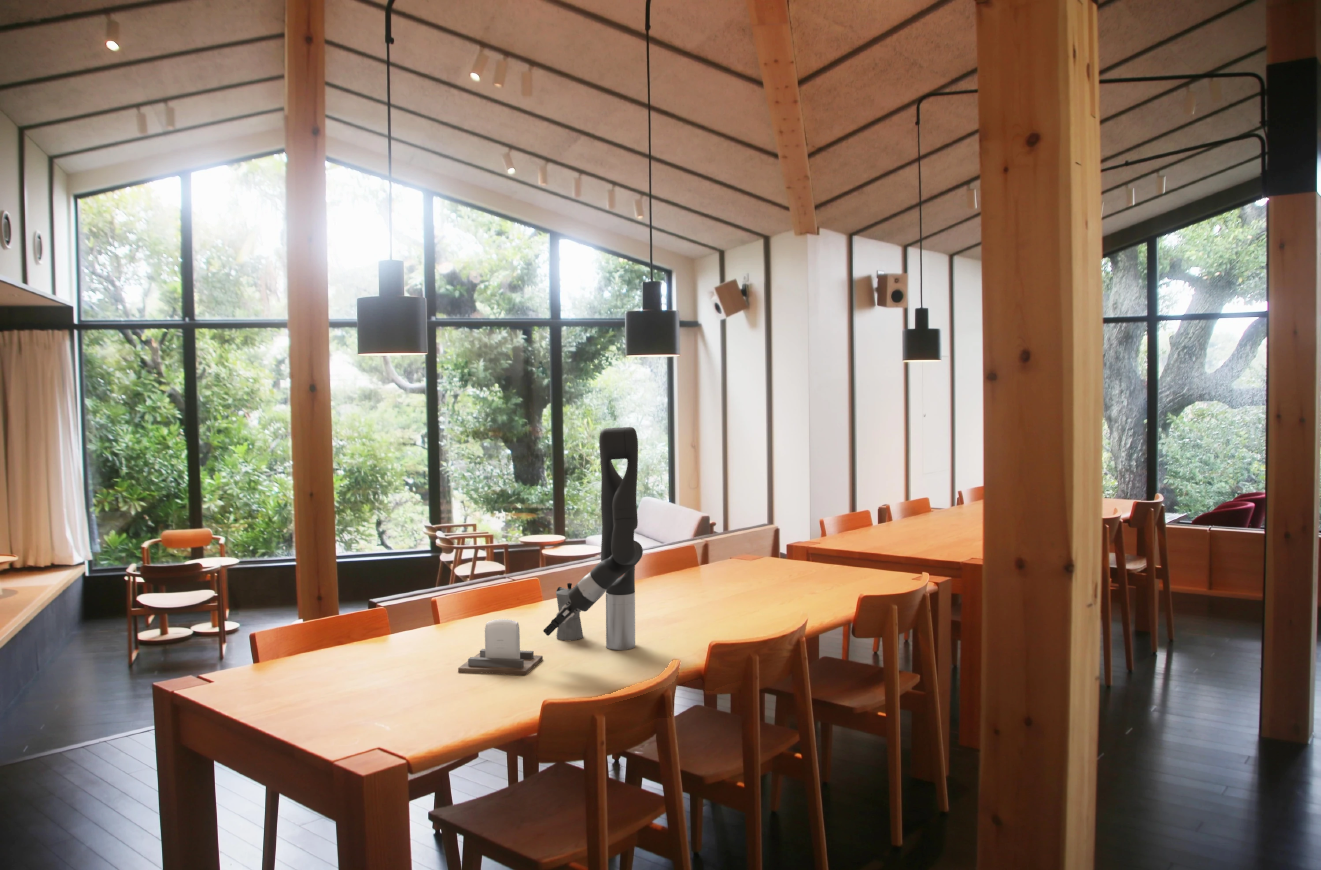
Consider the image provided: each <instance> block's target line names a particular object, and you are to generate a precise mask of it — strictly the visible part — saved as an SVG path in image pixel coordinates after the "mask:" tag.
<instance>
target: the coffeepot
mask: <svg viewBox="0 0 1321 870" xmlns="http://www.w3.org/2000/svg"><path fill="white" fill-rule="evenodd" d="M566 585H567V588H565V587H561V586H559V587H557V589H556V591H555V595H556V600H557V601H556V602H557V608H558V612H559V611H560V610H561V609H562V607H563V606H564V605H565V604H566V603H567V602H568V601H569V602H570V603H571V601H570V599H569V597H568V593H569V591H570V590H571V589H572V588H573V587H572V583H571V582H569V583H567V584H566ZM577 610H578V611H577V612H576V613H575V614H574V615H573V616H572V617H570V618H569V619H568V620H567V621H566V622H565V623H561V624H560V625H559V627H557V628H556V635H555V636H556V639H557V640H559V639H561V640H560V641H565V640H571V641H577V639H578V640H582V639H583V638H584V632H583V628H582V621H581V617H580V616H581V615H580V614H581V612H582V611H581V610H580V609H578V608H577Z"/></svg>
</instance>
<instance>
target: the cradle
mask: <svg viewBox="0 0 1321 870" xmlns="http://www.w3.org/2000/svg"><path fill="white" fill-rule="evenodd" d="M543 660H544V659H543V655H535V654H534V650H521V649H520V659H506V658H485V648H482V649H480V650H479V652H478V653H477V654H476V655H474V656H470V657H469V658H468V659H467V661H466V662H464V663H463V664H462V665H460V666H459V667H458V668H457V672H458V673H468V674H469V673H470V674H488V675H489V674H491V675H493V674H494V675H512V676H513V675H515V676H527V675H528V674H529V673H530V672H531V671H532V670H533V669H534V668H535V667H536V666H537V665H539V664H540V663H539V662H540V661H541V662H542V661H543Z"/></svg>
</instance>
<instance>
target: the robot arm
mask: <svg viewBox="0 0 1321 870" xmlns="http://www.w3.org/2000/svg"><path fill="white" fill-rule="evenodd" d="M598 441H599V442H598V443H599V445H598V446H599V447H598V448H599V458H600V459H599V460H600V470H601V471H600V473H601V484H600V485H601V487H600V488H601V490H600V491H601V492H600V507H601V508H600V512H601V544H600V546H601V547H600V562H599V563H598V564H596V566H595V567H593V568H592V569H591V570H590V572H588V573H586V574H585V575H584V577H582V578H581V580H580V581H578V582H577V583H576V584H575V585H574V586H573V587H571V588H572V589H571V590H570V591H569V593H568V597H569V599H570V601H571V603H570V602H569V601H568V602H567V603H566V604H565V605H564V606H563V607H562V609H561V610H560V611H559V610H558V612H557V613H556V615H555V617H554V618H553V619H552V620H551V621H550V623H548V625H547V626H546V627H545V628H543V630H542V631H543V633H544V634H545V635H546V636H547V637H549V636H550V635H551V634H552V633H553V632H554V631H555V630H557V628H558V627H559V625H560V624H561V623H565V622H566V621H567V620H568V619H569V618H570V617H572V616H573V615H574V614H575V613H576V612H577V611H578V610H577V608H578V609H580V610H581V612H587V611H588V610H590V609H591V607H593V605H594V604H596V602H597V601H598V600H600V598H601V597H602V596H603V595H604V594H605V642H606V643H605V647H606V648H607V649H609V650H615V651H623V650H632V649H634V648H635V647H636V585H635V584H636V583H635V582H636V581H635V575H636V573H635V571H636V565H637V564H638V563H639V562H640V561H641V559H642V558H643V553H644V551H643V550H644V548H643V547H642V545H641V543H639V542H638V541H637V540H635V530H636V529H637V528H638V526H639V525H638V524H639V523H638V522H639V521H638V520H639V519H638V506H637V505H638V504H637V487H638V470H639V469H638V466H639V465H638V463H639V439H638V434H637V430H636V429H635V428H634V427H632V426H629V427H628V426H626V427H625V426H623V427H622V426H621V427H607V428H603V429H601V430H600V433H599V437H598ZM612 460H627V462H626V470H625V473H624V475H623V478H622V476H621V475H620V474H619V472H617V470H616V468H615V466H614V464H613V462H612Z"/></svg>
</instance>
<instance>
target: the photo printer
mask: <svg viewBox="0 0 1321 870" xmlns="http://www.w3.org/2000/svg"><path fill="white" fill-rule="evenodd" d="M520 633H521V632H520V625H519V622H518V621H516V620H512V619H509V618H507V619H506V618H497V619H492V620H489V621H487V622H485V627H484V646H485V647H484V649H485V658H506V659H520V650H521V639H520V637H521V636H520V635H521V634H520Z"/></svg>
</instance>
